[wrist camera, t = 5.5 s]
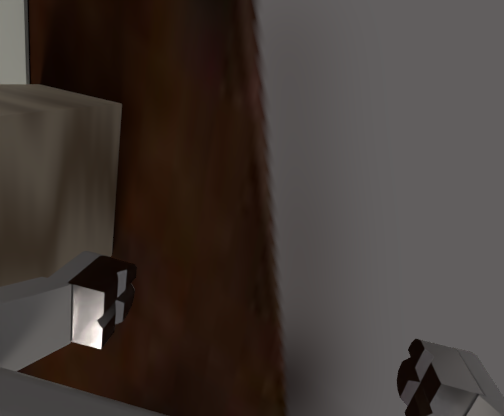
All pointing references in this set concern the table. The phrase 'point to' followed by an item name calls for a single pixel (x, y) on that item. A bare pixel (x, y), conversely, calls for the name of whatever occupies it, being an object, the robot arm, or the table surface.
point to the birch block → (55, 178)
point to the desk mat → (14, 42)
